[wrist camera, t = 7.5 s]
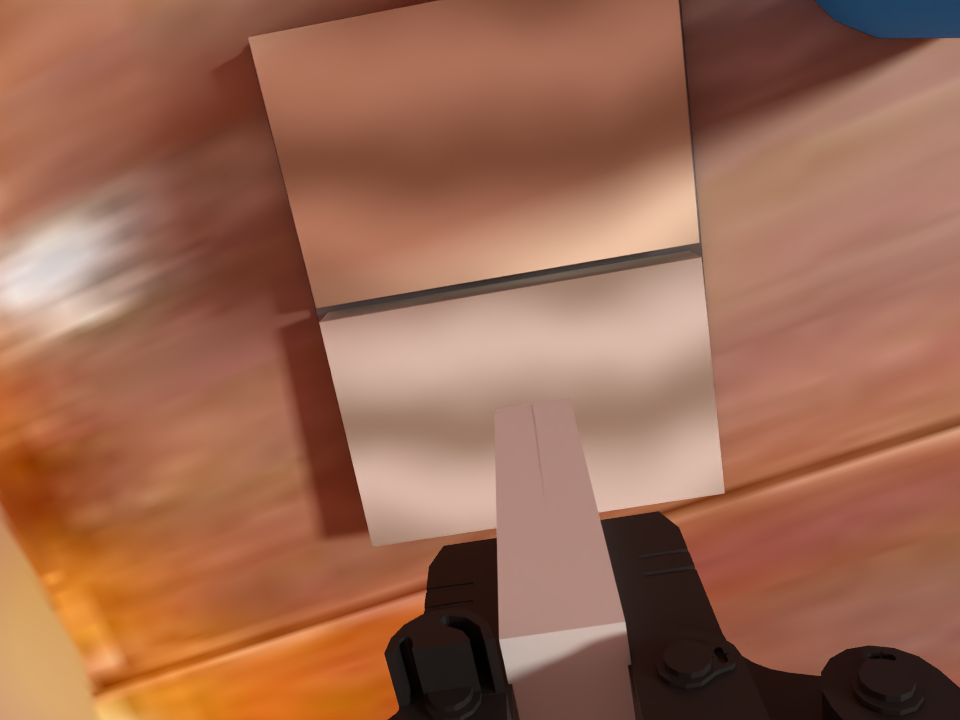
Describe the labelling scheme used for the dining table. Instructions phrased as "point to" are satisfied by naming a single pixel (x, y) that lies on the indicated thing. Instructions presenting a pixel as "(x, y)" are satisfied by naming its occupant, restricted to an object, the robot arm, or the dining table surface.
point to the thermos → (898, 17)
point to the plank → (527, 390)
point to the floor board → (480, 143)
